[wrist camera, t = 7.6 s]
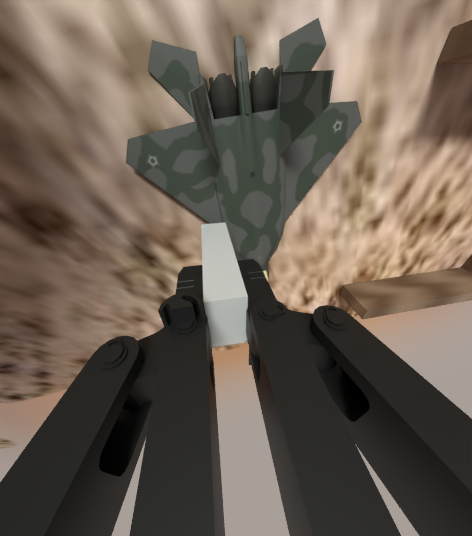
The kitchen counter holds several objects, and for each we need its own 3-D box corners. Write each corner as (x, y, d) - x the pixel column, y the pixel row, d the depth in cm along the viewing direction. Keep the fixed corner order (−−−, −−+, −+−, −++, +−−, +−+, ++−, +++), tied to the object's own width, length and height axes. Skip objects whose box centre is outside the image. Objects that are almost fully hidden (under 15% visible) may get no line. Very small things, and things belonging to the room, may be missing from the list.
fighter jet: (196, 313, 19) (196, 352, 16) (89, 55, 8) (15, 2, 5) (316, 286, 20) (341, 317, 17) (367, 17, 9) (469, -51, 6)
